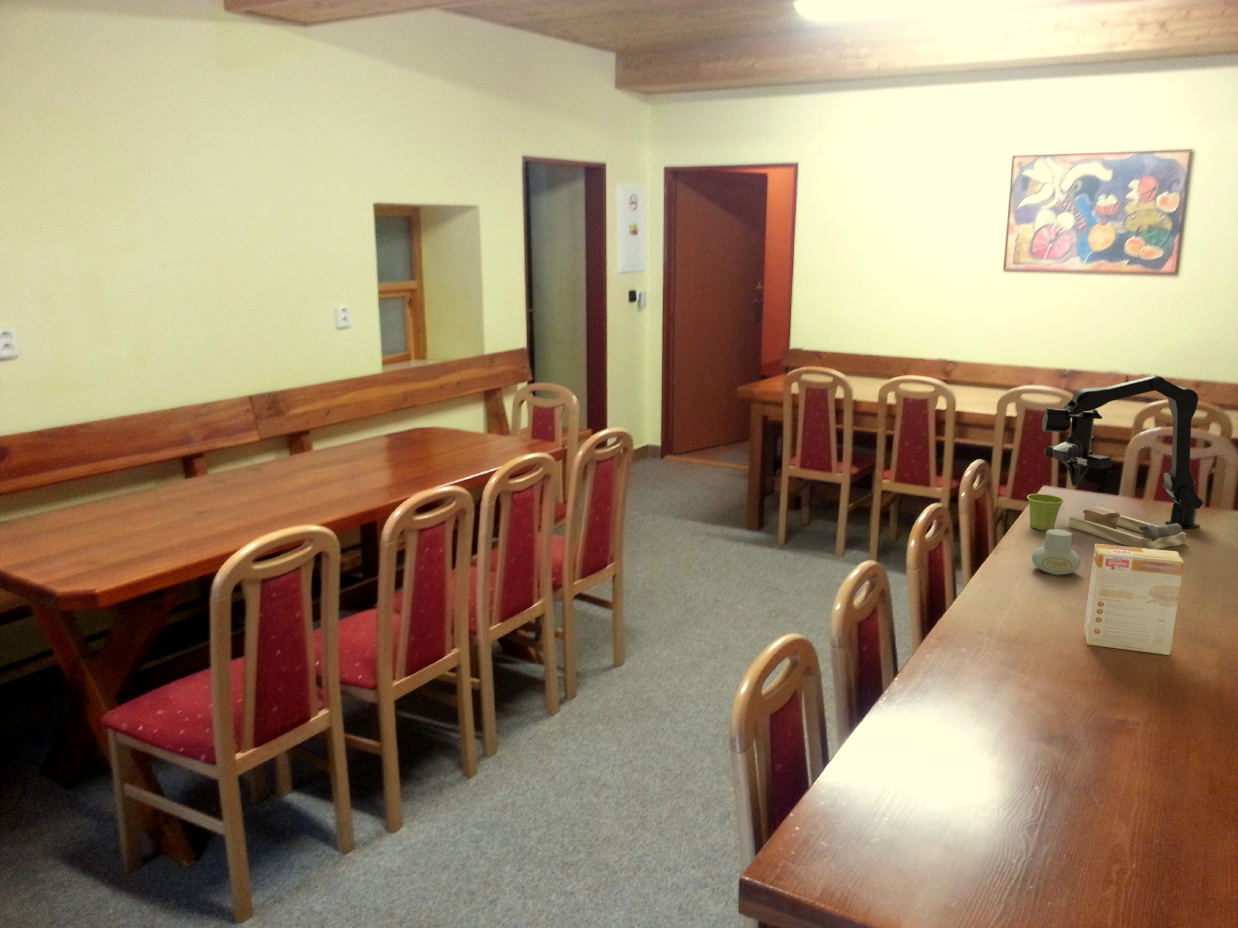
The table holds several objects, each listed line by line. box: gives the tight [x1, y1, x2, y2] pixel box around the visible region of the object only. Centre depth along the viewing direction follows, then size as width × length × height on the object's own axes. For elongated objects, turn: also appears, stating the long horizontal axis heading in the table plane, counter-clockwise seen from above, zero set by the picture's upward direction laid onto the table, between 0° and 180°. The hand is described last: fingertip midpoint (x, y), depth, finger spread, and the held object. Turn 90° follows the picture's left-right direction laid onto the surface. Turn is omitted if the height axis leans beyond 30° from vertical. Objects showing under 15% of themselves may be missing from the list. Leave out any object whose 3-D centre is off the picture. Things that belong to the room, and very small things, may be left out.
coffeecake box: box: [1083, 543, 1185, 656], centre depth 190 cm, size 15×7×20 cm, turn 71°
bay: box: [1067, 514, 1187, 550], centre depth 263 cm, size 16×25×7 cm, turn 25°
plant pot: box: [1026, 493, 1065, 532], centre depth 269 cm, size 9×9×9 cm
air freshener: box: [1031, 528, 1082, 576], centre depth 233 cm, size 11×8×10 cm
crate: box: [1082, 506, 1121, 530], centre depth 271 cm, size 6×7×5 cm
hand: (1074, 485), depth 278 cm, fingers closed
